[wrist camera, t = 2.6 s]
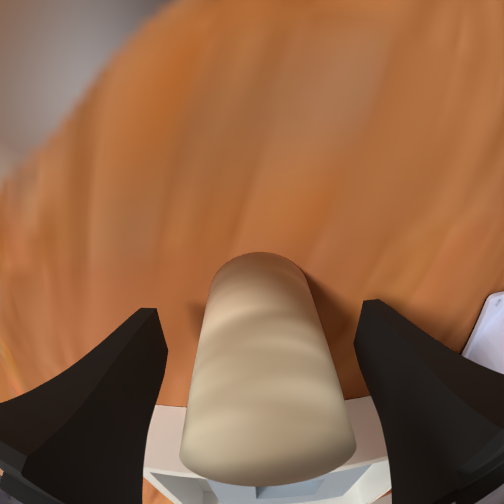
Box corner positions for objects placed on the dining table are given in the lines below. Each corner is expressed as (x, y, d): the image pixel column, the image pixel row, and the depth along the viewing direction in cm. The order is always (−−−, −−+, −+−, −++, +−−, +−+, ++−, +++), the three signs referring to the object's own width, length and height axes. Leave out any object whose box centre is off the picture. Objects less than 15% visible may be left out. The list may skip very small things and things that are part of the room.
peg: (311, 250, 10) (379, 411, 4) (305, 331, 12) (336, 478, 6) (204, 254, 10) (156, 422, 4) (215, 335, 12) (197, 485, 6)
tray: (425, 382, 15) (450, 433, 11) (359, 474, 22) (366, 506, 18) (147, 403, 15) (131, 464, 11) (198, 486, 22) (195, 519, 18)
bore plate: (374, 431, 16) (380, 453, 14) (339, 480, 21) (342, 496, 19) (203, 446, 16) (200, 470, 14) (222, 489, 21) (222, 505, 19)
